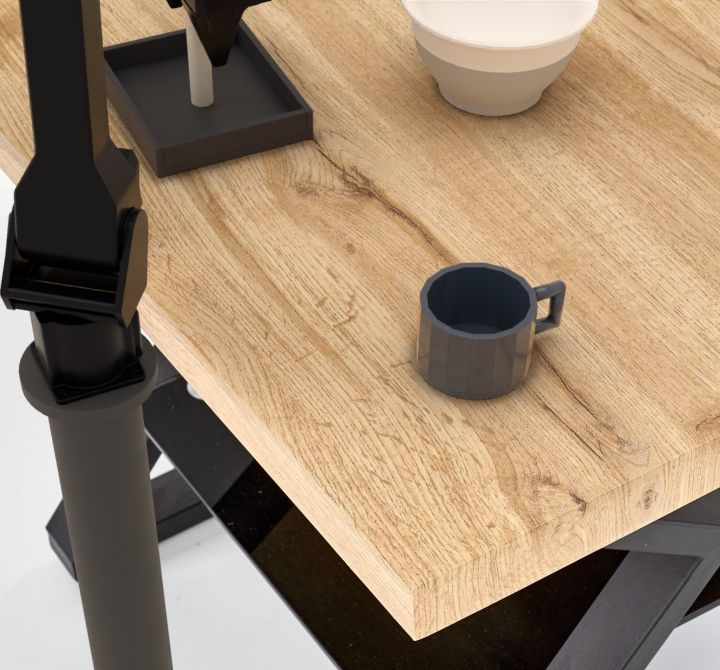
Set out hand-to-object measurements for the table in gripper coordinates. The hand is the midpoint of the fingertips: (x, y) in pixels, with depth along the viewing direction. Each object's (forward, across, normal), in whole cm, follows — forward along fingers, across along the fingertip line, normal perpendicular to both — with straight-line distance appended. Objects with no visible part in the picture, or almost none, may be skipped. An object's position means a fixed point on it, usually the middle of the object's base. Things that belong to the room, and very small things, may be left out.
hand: (197, 35), depth 124 cm
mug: (+7, -36, -7) cm, 37 cm away
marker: (+6, 0, 0) cm, 6 cm away
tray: (+6, 0, 0) cm, 6 cm away
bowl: (+7, -7, -23) cm, 25 cm away
